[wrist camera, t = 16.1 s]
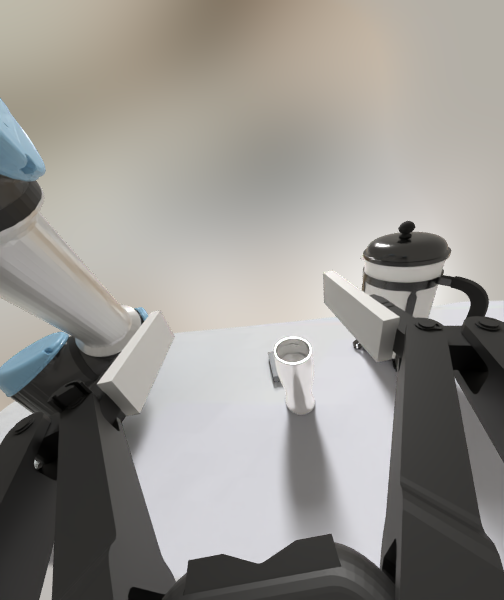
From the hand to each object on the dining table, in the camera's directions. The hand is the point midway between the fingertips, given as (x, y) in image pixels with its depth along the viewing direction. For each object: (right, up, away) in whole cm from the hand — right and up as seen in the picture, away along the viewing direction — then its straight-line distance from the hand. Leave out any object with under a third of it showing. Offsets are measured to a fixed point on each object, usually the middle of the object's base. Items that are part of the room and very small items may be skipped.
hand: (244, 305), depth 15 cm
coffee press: (+35, -12, +31) cm, 49 cm away
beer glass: (+11, -21, +25) cm, 34 cm away
